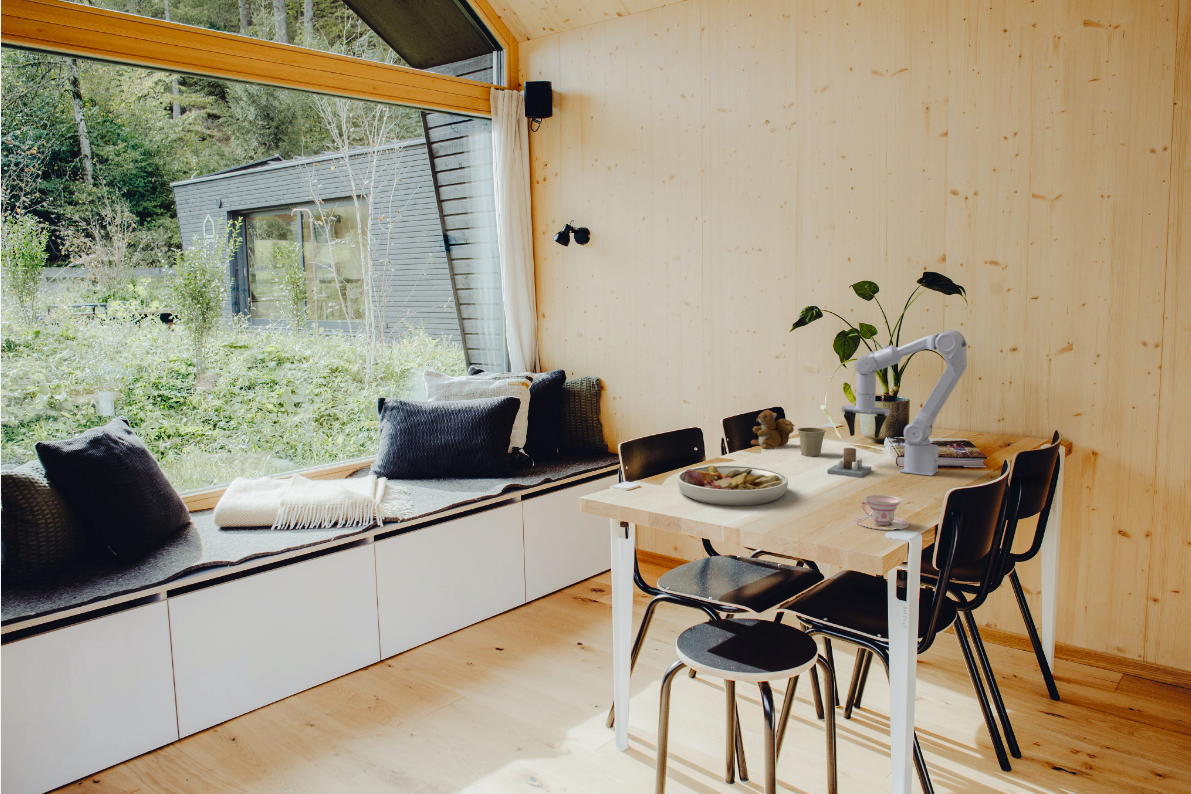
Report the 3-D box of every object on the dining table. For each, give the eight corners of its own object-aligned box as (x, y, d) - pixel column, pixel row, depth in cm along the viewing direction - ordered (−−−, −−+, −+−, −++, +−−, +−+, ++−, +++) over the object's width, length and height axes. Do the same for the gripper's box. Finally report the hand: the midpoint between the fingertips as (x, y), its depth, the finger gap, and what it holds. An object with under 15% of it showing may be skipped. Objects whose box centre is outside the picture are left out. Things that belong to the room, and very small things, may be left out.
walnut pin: (858, 468, 251) (858, 449, 250) (849, 470, 249) (849, 450, 248) (849, 466, 254) (850, 447, 253) (840, 467, 252) (841, 448, 251)
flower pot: (826, 458, 273) (827, 432, 271) (797, 457, 274) (798, 431, 273) (823, 452, 282) (824, 427, 281) (795, 451, 283) (796, 427, 282)
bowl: (749, 478, 247) (750, 452, 246) (810, 502, 219) (810, 473, 218) (659, 488, 236) (659, 461, 235) (710, 514, 208) (710, 484, 207)
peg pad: (871, 470, 253) (871, 458, 253) (860, 477, 244) (860, 465, 244) (839, 466, 259) (839, 455, 259) (827, 473, 250) (827, 461, 250)
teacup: (897, 517, 203) (898, 492, 202) (917, 531, 191) (918, 505, 191) (849, 517, 203) (850, 493, 202) (865, 531, 191) (866, 506, 191)
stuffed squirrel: (748, 444, 298) (749, 408, 296) (785, 442, 300) (786, 407, 298) (758, 449, 288) (759, 412, 286) (796, 448, 290) (797, 411, 288)
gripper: (893, 393, 256) (891, 436, 258) (846, 390, 264) (845, 432, 266) (886, 396, 251) (885, 440, 252) (839, 393, 259) (838, 435, 261)
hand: (864, 436), depth 259 cm, fingers open, 7 cm apart
